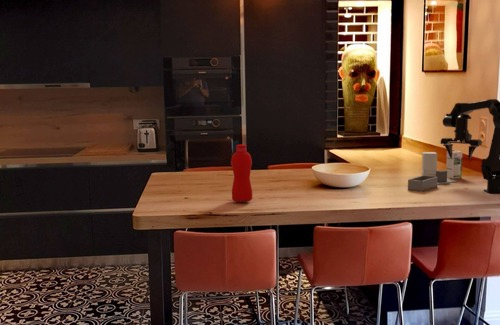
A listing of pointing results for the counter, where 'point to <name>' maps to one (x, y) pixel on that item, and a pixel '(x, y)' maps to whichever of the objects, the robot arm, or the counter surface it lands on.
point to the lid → (443, 177)
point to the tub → (422, 183)
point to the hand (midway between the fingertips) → (460, 158)
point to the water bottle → (241, 174)
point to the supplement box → (429, 163)
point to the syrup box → (454, 165)
